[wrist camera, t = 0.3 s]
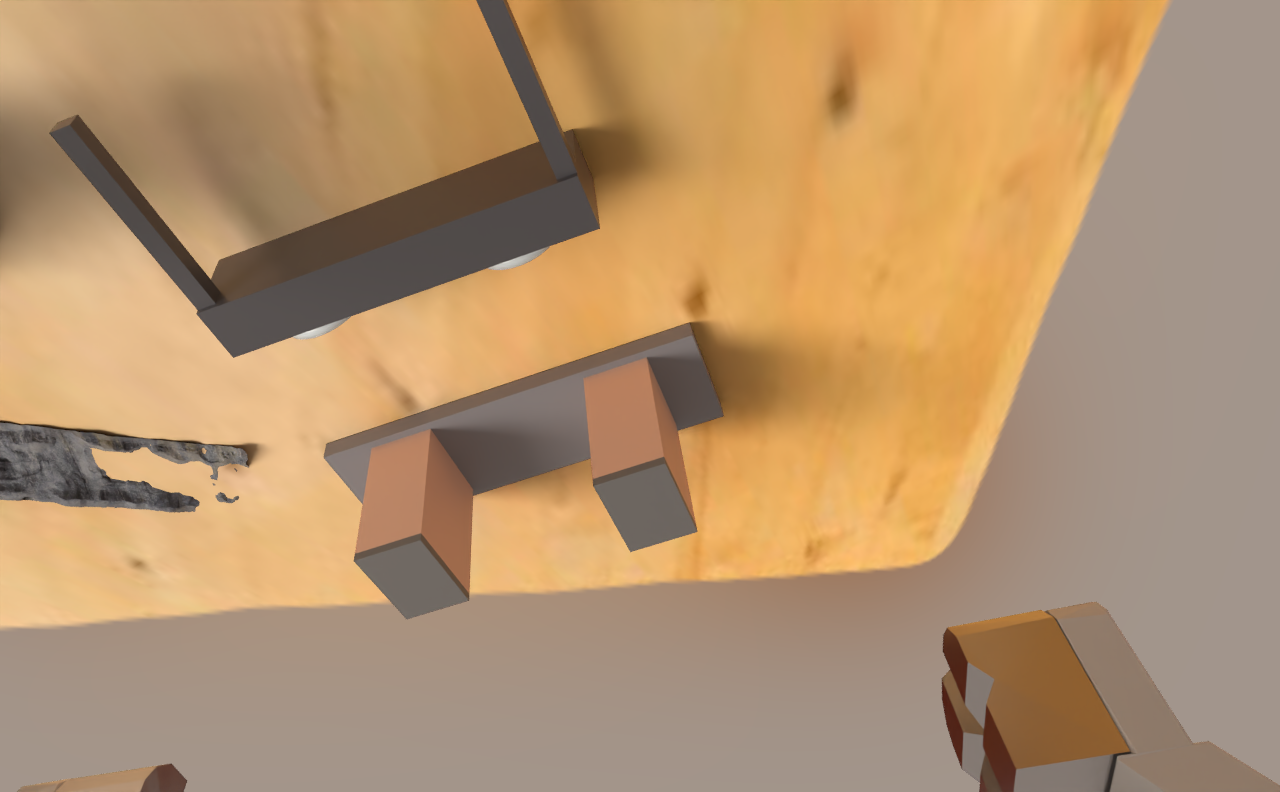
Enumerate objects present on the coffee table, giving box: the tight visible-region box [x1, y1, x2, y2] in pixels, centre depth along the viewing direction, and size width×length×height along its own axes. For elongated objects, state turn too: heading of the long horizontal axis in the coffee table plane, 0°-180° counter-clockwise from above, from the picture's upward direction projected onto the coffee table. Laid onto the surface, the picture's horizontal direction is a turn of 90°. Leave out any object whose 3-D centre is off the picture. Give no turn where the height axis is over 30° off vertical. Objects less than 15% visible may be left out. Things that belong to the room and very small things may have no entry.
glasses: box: [50, 0, 600, 358], centre depth 44 cm, size 14×20×5 cm
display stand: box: [324, 323, 724, 619], centre depth 55 cm, size 7×24×10 cm, turn 109°
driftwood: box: [0, 423, 249, 512], centre depth 57 cm, size 21×7×2 cm, turn 75°
